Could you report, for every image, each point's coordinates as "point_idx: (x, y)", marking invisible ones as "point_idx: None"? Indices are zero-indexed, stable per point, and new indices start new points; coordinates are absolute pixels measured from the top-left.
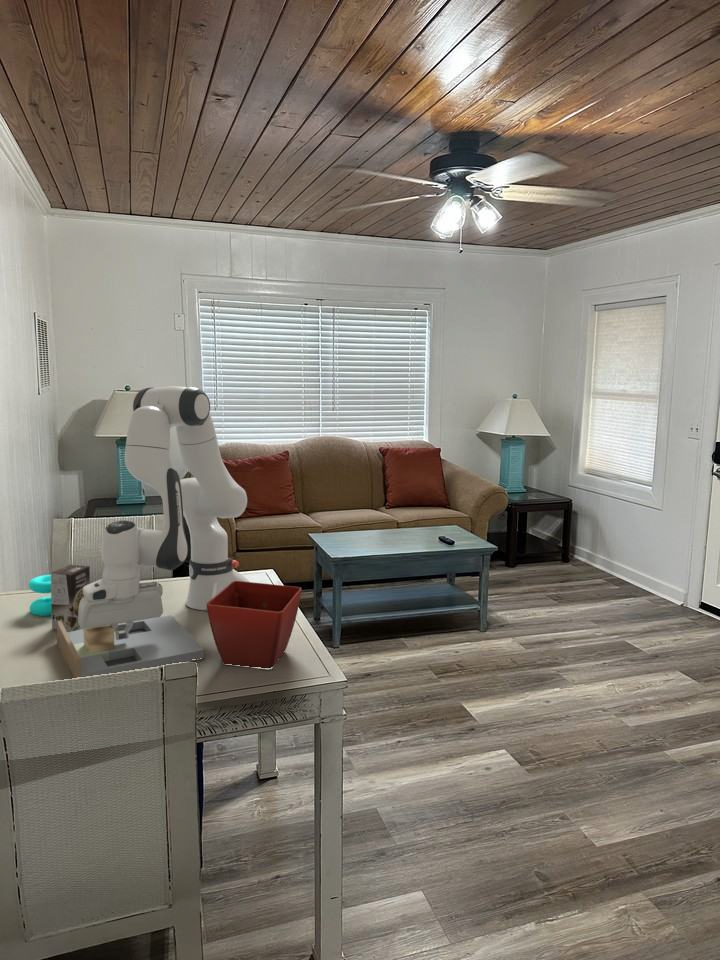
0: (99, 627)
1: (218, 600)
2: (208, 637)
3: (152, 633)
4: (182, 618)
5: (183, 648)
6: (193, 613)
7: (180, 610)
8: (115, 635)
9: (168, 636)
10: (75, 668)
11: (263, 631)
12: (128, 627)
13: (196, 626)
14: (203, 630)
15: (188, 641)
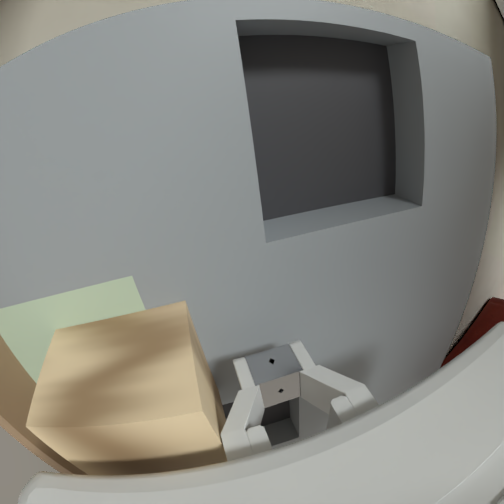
0: (147, 461)
1: None
2: (488, 232)
3: (413, 243)
4: (482, 40)
5: (415, 372)
6: (497, 29)
7: None
8: (236, 373)
9: (436, 289)
10: None
11: None
12: (327, 413)
13: (498, 133)
14: (499, 175)
15: (447, 330)
